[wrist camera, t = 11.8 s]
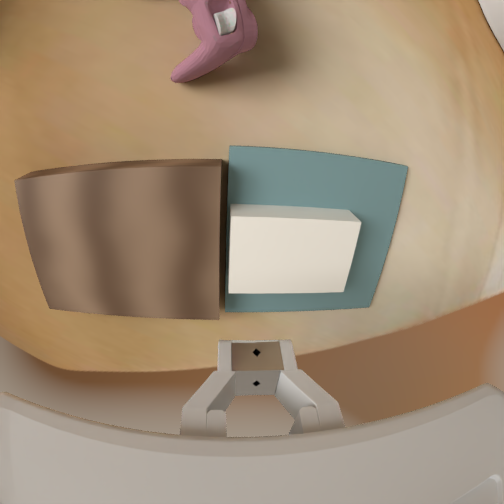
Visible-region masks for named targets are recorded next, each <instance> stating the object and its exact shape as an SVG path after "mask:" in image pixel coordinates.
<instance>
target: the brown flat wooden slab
mask: <svg viewBox="0 0 504 504" xmlns="http://www.w3.org/2000/svg"><path fill="white" fill-rule="evenodd" d="M221 166H222V159H171V160H142V161H125V162H110V163H98V164H88V165H78V166H70V167H61V168H54V169H47V170H40V171H34V172H30V173H28V174H26V175H24V176H22V177H20V178H18V179H17V180H15V187H16V193H17V199H18V204H19V209H20V214H21V219H22V223H23V227H24V232H25V236H26V239H27V243H28V247H29V250H30V254H31V257H32V261H33V264H34V267H35V270H36V273H37V276H38V279H39V282H40V285H41V288H42V290H43V293H44V296H45V298H46V301H47V303H48V306H49V308H50V309H57V310H65V311H74V312H84V313H94V314H105V315H118V316H132V317H149V318H170V319H205V320H219V262H220V199H221Z"/></svg>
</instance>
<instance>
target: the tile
mask: <svg viewBox="0 0 504 504" xmlns="http://www.w3.org/2000/svg"><path fill="white" fill-rule="evenodd" d="M360 226H361V221H360V220H359V219H358V218H357V217H356V216H355V215H354V214H352V213H351V212H350V211H349V210H343V209H330V208H314V207H297V206H278V205H253V204H231V205H230V231H229V261H228V290H229V293H248V294H265V293H329V292H344V288H345V285H346V281H347V278H348V274H349V270H350V267H351V263H352V259H353V255H354V251H355V247H356V243H357V239H358V235H359V231H360Z"/></svg>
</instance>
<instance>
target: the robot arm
mask: <svg viewBox="0 0 504 504" xmlns="http://www.w3.org/2000/svg"><path fill="white" fill-rule="evenodd" d="M479 3H480V5H481V8H482V10H483V13H484V15H485V17H486V19H487V21H488V23H489V25H490V27H491V29H492V31H493V33H494V35H495V37H496V38H497V40H498V42H499V43H500V45H501V47H502V49H503V51H504V0H479ZM238 395H275V397H276V398H277V399H278V400H279V401H280V403H281V404H282V405H283V406H284V407H285V409H286V410H287V411H288V412H289V413H290V415H291V416H292V417H293V418H294V419H295V421H294V424H293V426H292V428H291V430H290V432H289V435H280V436H264V437H227V436H226V413H225V411H226V409H227V408H228V406H229V405H230V403H231V402H232V400H233V399H234V397H235V396H238ZM0 504H504V392H503V391H501V390H500V389H498V388H497V387H495V386H493V385H491V384H489V383H486V384H483V385H480V386H478V387H476V388H474V389H471V390H469V391H467V392H464V393H462V394H460V395H457V396H455V397H452V398H449V399H447V400H444V401H441V402H439V403H436V404H433V405H430V406H427V407H424V408H421V409H418V410H415V411H411V412H408V413H404V414H401V415H397V416H394V417H390V418H386V419H382V420H378V421H374V422H369V423H364V424H360V425H355V426H350V427H345V425H344V421H343V418H342V414H341V411H340V407H339V404H338V402H337V401H336V400H335V399H334V398H333V397H331V396H330V395H329V394H328V393H327V392H326V391H325V390H323V389H322V388H321V387H320V386H319V385H318V384H317V383H316V382H315V381H313V380H312V379H311V378H310V377H309V376H308V375H307V374H305V372H304V371H302V370H298V368H297V363H296V359H295V354H294V350H293V345H292V341H291V340H255V341H244V340H219V342H218V371H214V372H213V373H212V374H211V375H210V376H209V378H208V379H207V380H206V381H205V382H204V383H203V385H202V386H201V387H200V388H199V389H198V390H197V391H196V393H195V394H194V395H193V396H192V397H191V398H190V399H189V401H188V402H187V403H186V404H185V405H184V406H183V409H182V418H181V428H180V435H175V434H166V433H157V432H149V431H142V430H136V429H130V428H124V427H118V426H114V425H109V424H104V423H100V422H95V421H91V420H87V419H83V418H79V417H76V416H72V415H69V414H65V413H62V412H58V411H55V410H52V409H49V408H46V407H43V406H40V405H38V404H35V403H32V402H29V401H27V400H24V399H21V398H19V397H17V396H14V395H12V394H9V393H7V392H0Z"/></svg>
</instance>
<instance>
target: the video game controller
mask: <svg viewBox="0 0 504 504" xmlns="http://www.w3.org/2000/svg"><path fill="white" fill-rule="evenodd" d="M179 2H180V3H181V4H182V5H183V6H186V7H187V8H188V9H189V10H190V11H191V13H192V15H193V19H192V23H193V29H194V31H195V34H196V36H197V37H198V38H199V39H200V40H202V42H201V44H200V45H199V47H198V48H197V49H196V50H195V51H194V52H193V53H192V54H191V55H190V56H188V57H187V58H186V59H184V60H183V61H182V62H181V63H180V64H178V65H177V66H176V67H175V69H174V70H173V72H172V74H171V80H172V81H173V82H175V83H182V82H188V81H191V80H194V79H196V78H199V77H201V76H203V75H205V74H207V73H209V72H210V71H212V70H214V69H216V68H217V67H219V66H221V65H222V64H224V63H225V62H227V61H228V60H230V59H231V58H233V57H235V56H236V55H238V54H239V53H243V52H246V51H249V50H251V49H252V48H253V47H254V46H255V44H256V42H257V36H258V28H257V22H256V19H255V16H254V15H253V13H252V12H251V10H250V9H249V8H248V7H247V4H246V1H245V0H179Z"/></svg>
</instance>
